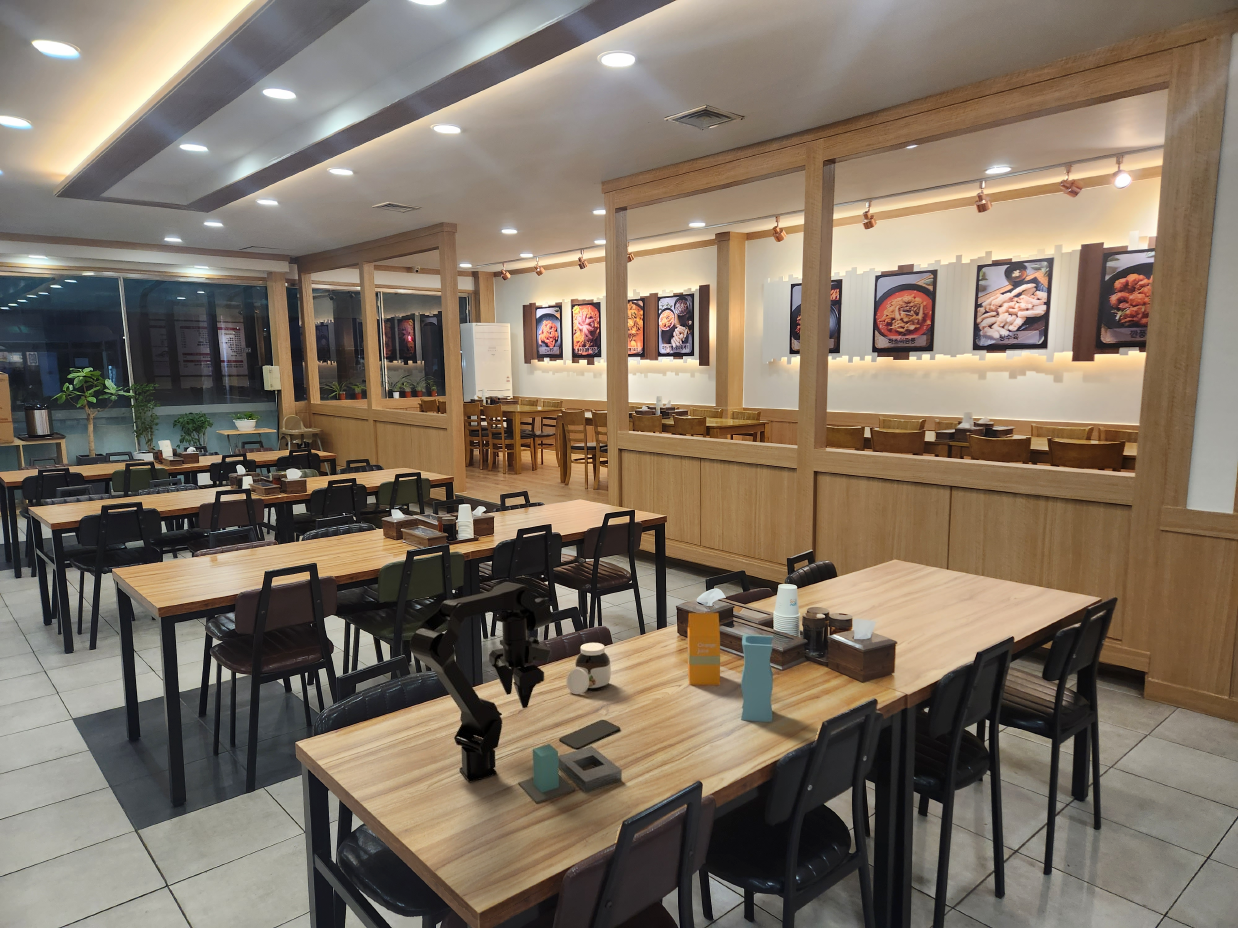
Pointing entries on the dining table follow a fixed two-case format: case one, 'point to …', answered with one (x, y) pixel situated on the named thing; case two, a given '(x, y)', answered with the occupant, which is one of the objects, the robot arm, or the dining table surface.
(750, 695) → the vase
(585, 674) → the spread jar
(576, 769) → the gray rectangular frame
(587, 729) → the smartphone
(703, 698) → the dining table surface
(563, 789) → the dark gray square pad
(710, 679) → the orange juice
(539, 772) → the teal square block
